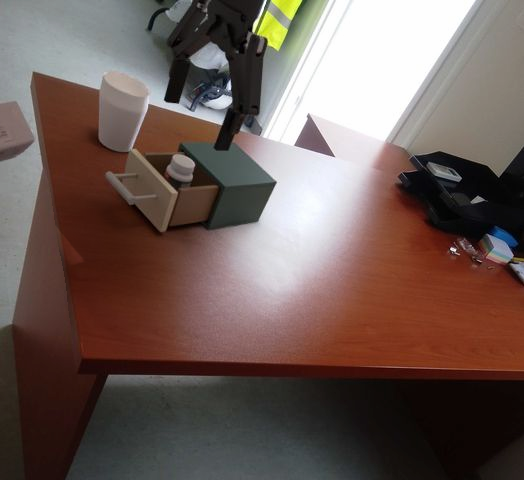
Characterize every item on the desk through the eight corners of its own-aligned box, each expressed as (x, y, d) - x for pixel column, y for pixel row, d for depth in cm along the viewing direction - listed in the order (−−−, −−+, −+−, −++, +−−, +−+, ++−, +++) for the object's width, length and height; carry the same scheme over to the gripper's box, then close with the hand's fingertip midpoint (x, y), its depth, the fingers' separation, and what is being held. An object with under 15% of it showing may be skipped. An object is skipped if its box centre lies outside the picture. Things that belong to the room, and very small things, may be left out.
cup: (146, 153, 96) (160, 96, 88) (114, 158, 90) (126, 98, 82) (116, 129, 98) (127, 70, 90) (82, 133, 91) (91, 70, 83)
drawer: (131, 236, 75) (142, 196, 70) (91, 190, 78) (98, 149, 73) (216, 222, 88) (230, 188, 83) (178, 184, 92) (190, 148, 87)
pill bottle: (152, 195, 83) (164, 153, 78) (171, 191, 87) (183, 151, 81) (170, 211, 82) (183, 170, 77) (188, 207, 86) (202, 167, 80)
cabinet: (207, 230, 87) (225, 186, 81) (166, 187, 91) (180, 142, 85) (258, 221, 97) (277, 182, 91) (219, 182, 101) (234, 142, 95)
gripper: (324, 26, 60) (259, 170, 74) (209, -61, 67) (169, 85, 81) (290, 13, 55) (226, 171, 69) (168, -79, 62) (133, 81, 76)
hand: (195, 125), depth 75 cm, fingers open, 13 cm apart
